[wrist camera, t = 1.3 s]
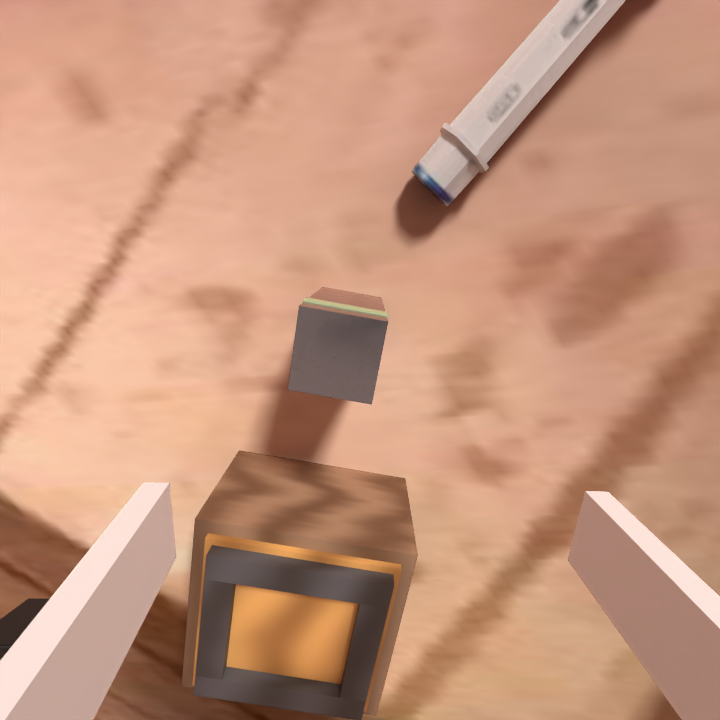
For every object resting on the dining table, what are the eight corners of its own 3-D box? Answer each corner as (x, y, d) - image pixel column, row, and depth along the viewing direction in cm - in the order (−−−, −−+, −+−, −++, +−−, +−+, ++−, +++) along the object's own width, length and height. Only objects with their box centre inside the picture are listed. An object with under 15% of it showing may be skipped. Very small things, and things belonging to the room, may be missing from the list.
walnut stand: (405, 478, 38) (420, 571, 27) (374, 609, 42) (376, 737, 31) (239, 450, 38) (185, 533, 27) (224, 586, 42) (172, 706, 31)
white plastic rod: (404, 160, 28) (764, -281, 19) (404, 168, 34) (677, -162, 25) (457, 213, 28) (826, -187, 20) (448, 212, 35) (727, -94, 26)
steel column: (382, 296, 34) (390, 320, 22) (371, 355, 35) (373, 406, 23) (321, 285, 34) (297, 303, 22) (312, 344, 35) (285, 391, 23)
